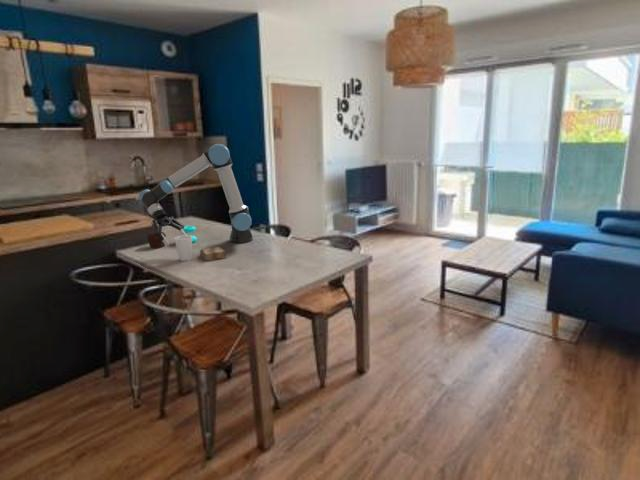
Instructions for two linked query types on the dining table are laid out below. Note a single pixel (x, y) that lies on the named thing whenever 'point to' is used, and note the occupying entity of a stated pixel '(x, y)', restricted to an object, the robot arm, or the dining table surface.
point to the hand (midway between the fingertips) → (177, 241)
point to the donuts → (190, 231)
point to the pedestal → (212, 253)
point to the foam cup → (184, 247)
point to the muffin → (155, 240)
